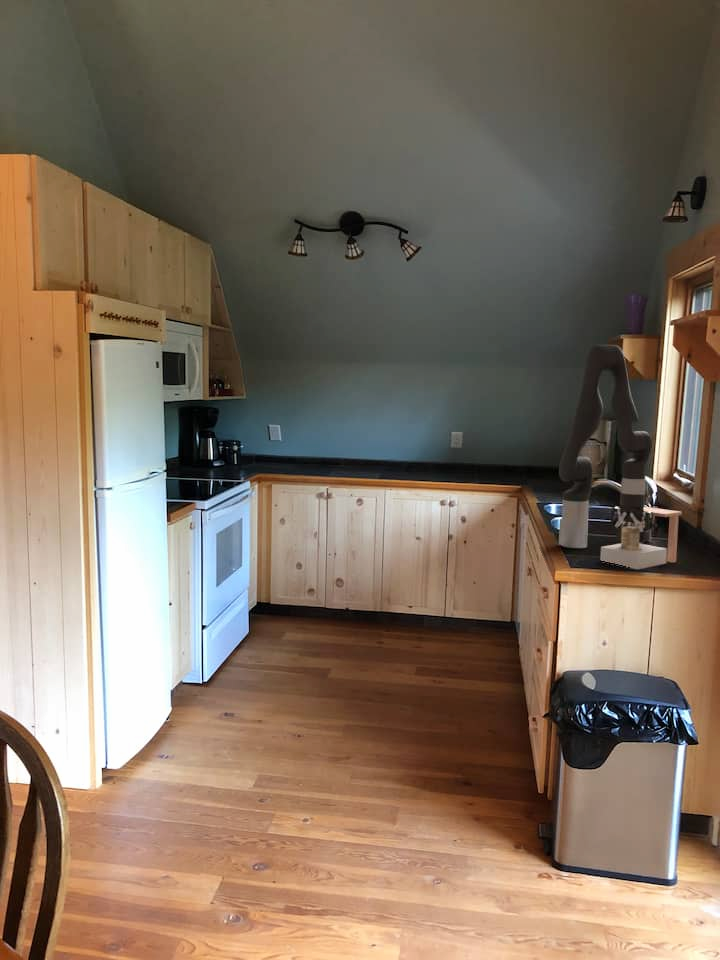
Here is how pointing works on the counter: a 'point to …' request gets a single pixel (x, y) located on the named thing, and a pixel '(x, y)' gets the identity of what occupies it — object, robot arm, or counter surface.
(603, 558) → the socket block
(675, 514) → the wooden arch frame
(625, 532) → the peg
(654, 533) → the counter surface
